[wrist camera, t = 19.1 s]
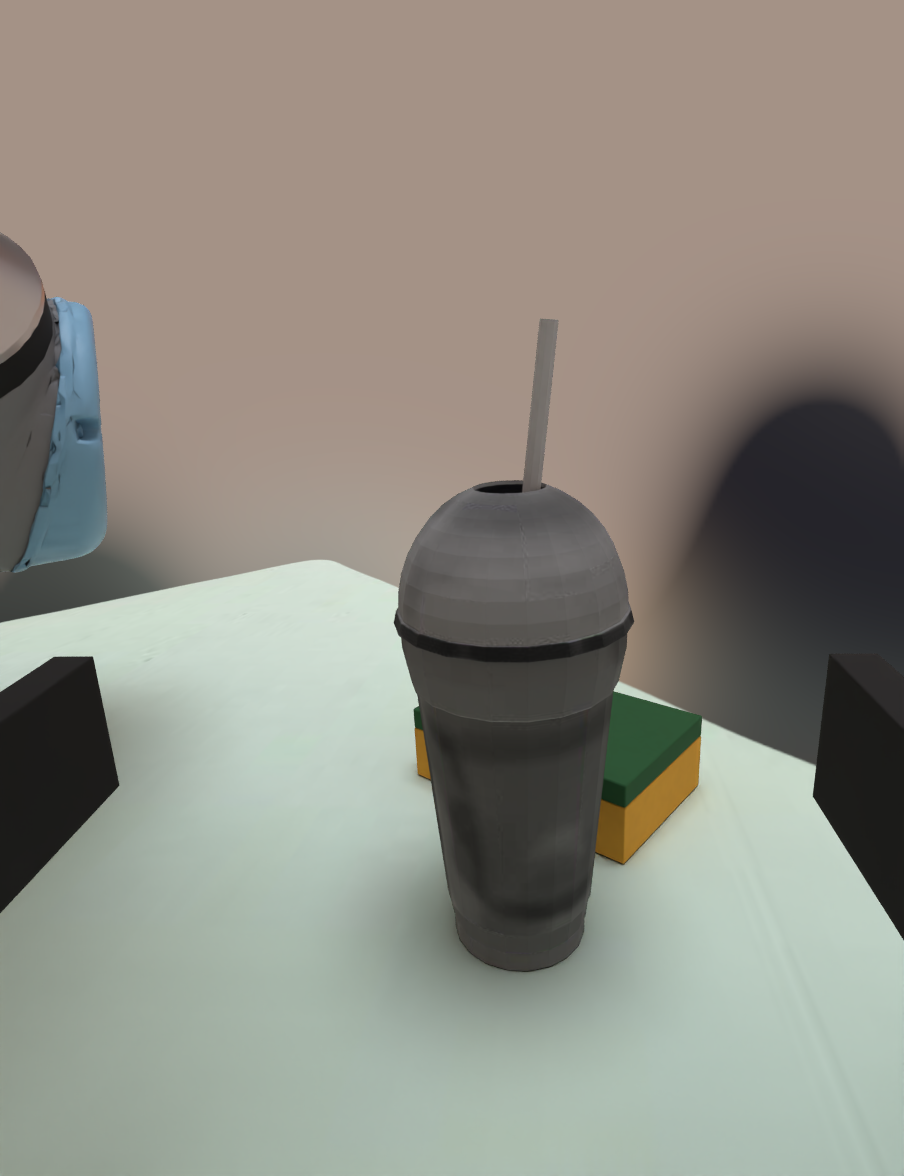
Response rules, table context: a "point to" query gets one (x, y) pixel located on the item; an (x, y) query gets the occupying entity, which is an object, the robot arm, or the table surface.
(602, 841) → the sponge
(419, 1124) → the table surface
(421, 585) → the beverage cup
